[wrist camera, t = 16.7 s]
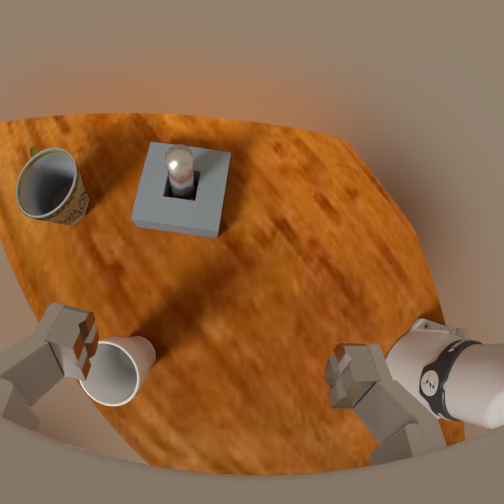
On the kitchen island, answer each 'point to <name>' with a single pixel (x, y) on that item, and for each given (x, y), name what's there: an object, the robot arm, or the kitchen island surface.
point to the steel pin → (180, 171)
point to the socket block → (180, 210)
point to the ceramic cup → (51, 187)
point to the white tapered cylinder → (119, 369)
